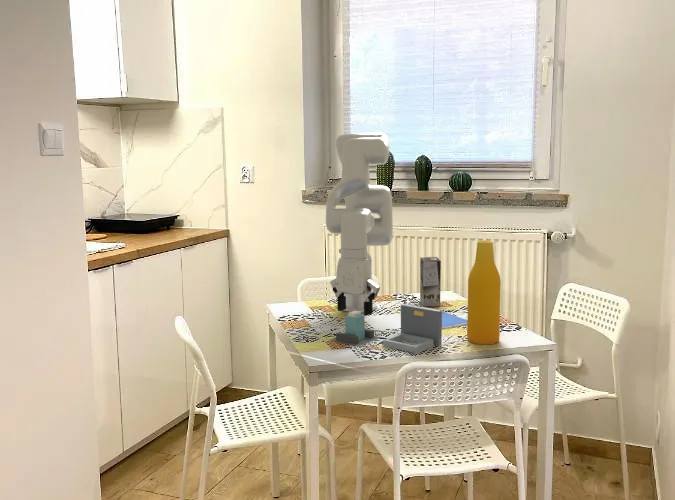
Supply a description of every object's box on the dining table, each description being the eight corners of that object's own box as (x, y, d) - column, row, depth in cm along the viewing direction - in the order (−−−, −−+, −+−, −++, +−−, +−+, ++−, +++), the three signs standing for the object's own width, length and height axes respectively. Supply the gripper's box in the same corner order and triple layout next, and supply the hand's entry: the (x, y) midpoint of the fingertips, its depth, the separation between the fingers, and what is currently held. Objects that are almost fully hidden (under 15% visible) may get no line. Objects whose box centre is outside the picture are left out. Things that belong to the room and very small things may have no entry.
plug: (345, 339, 200) (345, 312, 199) (354, 335, 203) (353, 309, 202) (356, 341, 197) (356, 314, 196) (364, 338, 200) (364, 311, 199)
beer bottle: (505, 340, 198) (508, 241, 193) (486, 347, 192) (488, 245, 187) (479, 333, 205) (481, 238, 200) (460, 340, 199) (461, 241, 194)
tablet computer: (473, 325, 216) (473, 321, 216) (441, 331, 210) (442, 327, 210) (436, 312, 233) (436, 308, 232) (406, 317, 227) (406, 313, 226)
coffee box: (440, 306, 238) (441, 260, 236) (422, 306, 238) (422, 261, 236) (437, 300, 247) (437, 256, 245) (419, 300, 247) (419, 256, 245)
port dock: (380, 346, 194) (380, 312, 192) (403, 336, 203) (403, 303, 201) (419, 354, 186) (419, 319, 184) (441, 344, 195) (441, 310, 193)
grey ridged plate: (328, 341, 200) (328, 332, 199) (352, 332, 208) (352, 324, 208) (358, 347, 193) (358, 339, 192) (381, 338, 201) (381, 330, 201)
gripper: (322, 253, 198) (323, 310, 201) (370, 258, 188) (370, 318, 190) (339, 250, 204) (339, 306, 207) (386, 254, 193) (386, 313, 196)
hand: (354, 312), depth 198 cm, fingers open, 9 cm apart
